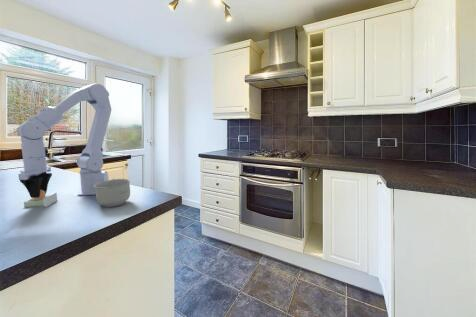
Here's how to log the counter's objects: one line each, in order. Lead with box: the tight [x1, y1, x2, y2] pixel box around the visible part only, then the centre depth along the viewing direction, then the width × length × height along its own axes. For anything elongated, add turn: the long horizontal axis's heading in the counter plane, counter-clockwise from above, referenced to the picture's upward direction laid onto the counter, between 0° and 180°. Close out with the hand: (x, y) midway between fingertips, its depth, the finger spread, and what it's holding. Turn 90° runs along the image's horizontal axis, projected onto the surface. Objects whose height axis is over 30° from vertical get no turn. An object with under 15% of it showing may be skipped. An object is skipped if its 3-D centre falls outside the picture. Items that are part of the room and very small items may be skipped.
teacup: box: [94, 178, 131, 208], centre depth 78 cm, size 14×11×8 cm
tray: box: [23, 195, 48, 208], centre depth 77 cm, size 6×6×2 cm
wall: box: [43, 192, 58, 208], centre depth 77 cm, size 1×7×3 cm, turn 17°
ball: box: [34, 190, 47, 200], centre depth 76 cm, size 4×4×4 cm
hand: (38, 195), depth 76 cm, fingers closed on ball, 3 cm apart
